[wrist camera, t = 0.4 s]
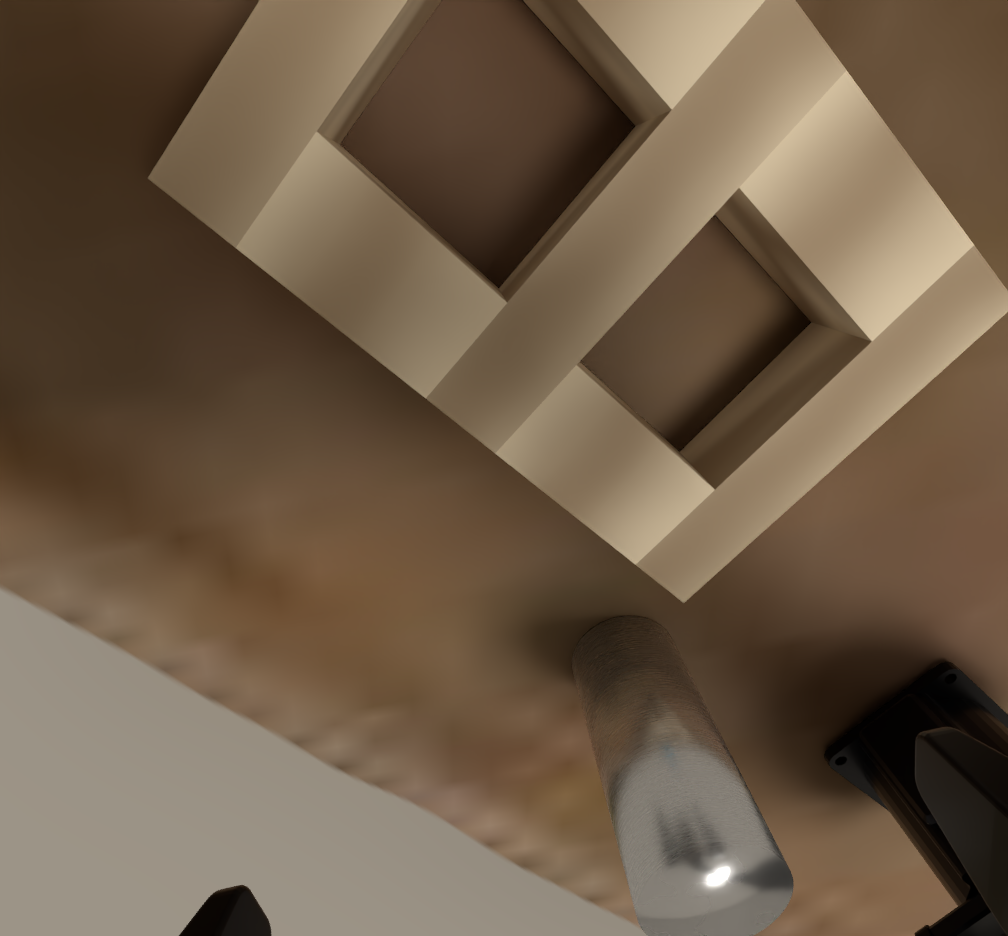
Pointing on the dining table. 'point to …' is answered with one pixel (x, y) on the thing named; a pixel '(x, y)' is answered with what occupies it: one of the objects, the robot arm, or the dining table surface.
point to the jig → (608, 252)
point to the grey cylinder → (674, 790)
